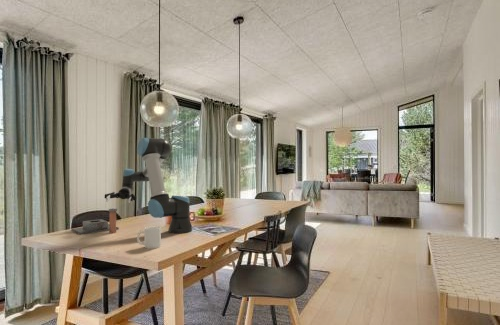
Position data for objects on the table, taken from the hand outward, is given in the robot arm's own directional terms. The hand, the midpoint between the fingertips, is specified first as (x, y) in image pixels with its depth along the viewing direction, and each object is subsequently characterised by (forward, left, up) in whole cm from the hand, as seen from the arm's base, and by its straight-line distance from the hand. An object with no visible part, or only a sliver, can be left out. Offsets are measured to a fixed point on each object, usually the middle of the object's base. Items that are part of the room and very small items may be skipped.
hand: (118, 200), depth 210 cm
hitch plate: (+8, -17, -20) cm, 28 cm away
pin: (+3, 0, -20) cm, 21 cm away
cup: (+4, +51, -21) cm, 55 cm away
